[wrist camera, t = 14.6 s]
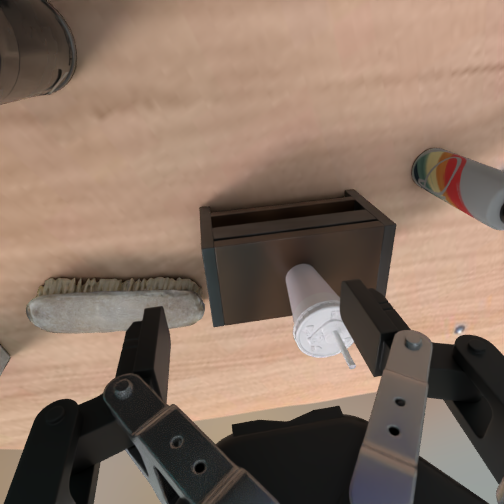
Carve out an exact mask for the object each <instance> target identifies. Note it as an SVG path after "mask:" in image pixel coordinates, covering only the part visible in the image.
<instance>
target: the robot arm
mask: <svg viewBox="0 0 504 504" xmlns="http://www.w3.org/2000/svg"><path fill="white" fill-rule="evenodd" d="M76 61H77V52H76V46H75V41H74V38H73V35H72V33H71V31H70V29H69V27H68V25H67V23H66V22H65V20H64V19H63V17H62V16H61V15H60V14H59V13H58V11H57V10H56V9H55V8H54V7H52V6H51V5H50V4H49V3H48V2H46V1H45V0H0V105H2V104H6V103H10V102H14V101H18V100H22V99H26V98H30V97H34V96H38V95H46V94H48V95H50V94H51V93H53V92H56V91H58V90H60V89H61V88H63V87H64V86H65V85H66V84H67V83H68V82H69V81H70V79H71V78H72V76H73V73H74V71H75V67H76ZM340 316H341V319H342V321H343V323H344V325H345V327H346V329H347V330H348V332H349V334H350V336H351V337H352V339H353V341H354V343H355V344H356V346H357V348H358V350H359V351H360V353H361V355H362V357H363V359H364V360H365V362H366V364H367V366H368V367H369V369H370V371H371V373H372V374H373V376H374V377H377V376H382V377H381V380H380V384H379V387H378V391H377V394H376V398H375V402H374V405H373V409H372V412H371V416H370V419H369V422H368V421H366V420H364V419H361V418H359V417H355V416H351V415H344V414H342V411H341V409H340V406H335V407H329V408H324V409H318V410H313V411H311V412H309V413H306V414H304V415H302V416H300V417H297V418H295V419H293V420H291V421H287V422H284V421H268V420H256V421H250V422H244V423H239V424H233V425H232V431H233V434H231V435H229V436H227V437H225V438H223V439H222V440H221V441H219V442H218V443H217V444H214V442H213V441H212V440H211V439H209V437H208V436H206V435H205V434H204V432H202V431H201V430H200V429H199V427H198V426H197V425H196V424H195V423H194V422H193V421H192V420H191V419H190V418H189V417H188V416H187V415H186V414H185V413H184V412H183V411H182V410H181V409H180V408H179V407H177V406H176V405H175V404H172V405H171V406H169V405H167V404H166V403H167V390H168V376H169V363H170V349H171V341H170V333H169V329H168V325H167V320H166V316H165V312H164V308H163V306H157V307H150V308H145V309H144V314H143V319H142V321H135V322H133V323H132V324H131V326H130V327H129V328H128V329H127V331H126V335H125V339H124V343H123V347H122V348H123V350H122V352H121V356H120V360H119V364H118V368H117V372H116V377H115V378H114V379H113V380H112V381H111V382H109V383H108V385H107V386H106V387H105V389H104V392H103V394H101V395H100V396H98V397H96V398H94V399H91V400H89V401H87V402H84V403H82V404H79V405H78V404H77V403H76V402H75V401H74V400H71V399H61V400H58V401H55V402H53V403H51V404H49V405H48V406H46V407H45V408H44V409H43V410H42V411H40V413H39V414H38V415H37V417H36V418H35V420H34V423H33V425H32V428H31V431H30V433H29V436H28V439H27V442H26V444H25V447H24V450H23V453H22V455H21V458H20V461H19V464H18V466H17V469H16V472H15V475H14V478H13V480H12V483H11V485H10V488H9V491H8V494H7V497H6V499H5V502H4V504H94V498H95V492H96V486H97V480H98V474H99V468H100V462H101V461H103V460H105V459H107V458H109V457H111V456H113V455H115V454H117V453H119V452H121V451H123V450H126V452H127V453H128V454H129V456H130V457H131V459H132V460H133V461H134V463H135V464H136V465H137V467H138V468H139V469H140V471H141V472H142V473H143V475H144V476H145V477H146V479H147V480H148V482H149V483H150V484H151V486H152V488H153V490H154V491H155V493H156V495H157V497H158V498H159V500H160V502H161V503H162V504H489V503H487V502H486V501H485V500H483V499H481V498H480V497H479V496H477V495H476V494H474V493H473V492H471V491H470V490H468V489H467V488H465V487H464V486H463V485H461V484H460V483H458V482H457V481H455V480H454V479H452V478H451V477H450V476H448V475H446V474H445V473H443V472H442V471H441V470H439V469H438V468H436V467H435V466H433V465H432V464H430V463H429V462H428V461H426V460H425V459H423V458H422V457H420V456H419V451H420V443H421V437H422V430H423V423H424V416H425V408H426V401H427V397H428V398H436V399H443V400H444V401H445V403H446V404H447V406H448V408H449V409H450V411H451V412H452V414H453V415H454V417H455V418H456V420H457V421H458V423H459V424H460V426H461V427H462V429H463V430H464V432H465V433H466V435H467V437H468V438H469V440H470V441H471V443H472V444H473V445H474V447H475V449H476V450H477V452H478V453H479V455H480V456H481V458H482V459H483V461H484V462H485V464H486V466H487V467H488V469H489V470H490V472H491V473H492V475H493V476H494V478H495V479H496V481H497V482H498V484H499V486H498V488H497V491H496V498H497V502H498V504H504V356H503V355H502V354H501V352H500V351H499V350H498V349H497V348H496V347H495V346H494V345H493V344H492V343H490V342H489V341H487V340H486V339H483V338H481V337H478V336H474V335H462V336H459V337H458V338H457V339H456V341H455V344H454V345H452V344H441V343H433V342H431V340H430V339H429V338H428V337H427V336H425V335H424V334H422V333H420V332H418V331H414V330H411V329H410V328H409V327H408V326H407V324H406V323H405V322H404V321H403V319H402V318H401V317H400V316H399V314H398V313H397V312H396V311H395V309H393V307H392V306H391V304H390V303H388V301H387V299H386V298H385V297H384V296H383V294H381V293H380V292H378V291H377V290H375V289H373V288H368V289H367V287H366V286H365V285H364V283H363V282H362V281H361V280H360V279H353V280H346V281H342V284H341V295H340Z"/></svg>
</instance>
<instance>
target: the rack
mask: <svg viewBox="0 0 504 504" xmlns="http://www.w3.org/2000/svg"><path fill="white" fill-rule="evenodd" d="M200 229H201V250H202V256H203V263H204V269H205V275H206V282H207V288H208V295H209V301H210V308H211V314H212V321H213V327H218V326H224V325H232V324H239V323H245V322H252V321H259V320H266V319H272V318H279V317H286V316H292V310H291V305H290V300H289V294H288V289H287V284H286V275H287V273H288V271H289V270H290V269H291V268H292V267H294V266H296V265H299V264H308V265H310V266H312V267H313V268H314V269H315V270H316V271H317V272H318V273H319V275H320V276H321V277H322V278H323V279H324V280H325V281H326V283H327V284H328V285H329V286H330V287H331V288H332V289H333V291H334V292H335V293H336V294H337V295H338V296H339V297H340V295H341V284H342V281H346V280H353V279H360V280H361V281H362V282H363V283H364V285H365V286H366V287H367V289H368V288H373V289H375V290H377V291H378V292H380V293H381V294H383V296H384V297H385V296H386V289H387V283H388V276H389V269H390V263H391V256H392V250H393V243H394V237H395V230H396V224H395V223H394V222H393V221H392V220H390V219H389V218H388V217H387V216H386V215H384V214H383V213H382V212H381V211H380V210H378V209H377V208H376V207H375V206H373V205H372V204H371V203H370V202H369V201H367V200H366V199H365V198H364V197H363V196H361V195H360V194H359V193H358V192H357V191H355V190H347V191H345V197H343V198H335V199H326V200H318V201H309V202H300V203H292V204H283V205H275V206H266V207H258V208H249V209H241V210H232V211H224V212H215V213H211V212H210V207H209V206H208V207H200Z"/></svg>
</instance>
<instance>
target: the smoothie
mask: <svg viewBox="0 0 504 504" xmlns="http://www.w3.org/2000/svg"><path fill="white" fill-rule="evenodd" d="M286 284H287V289H288V294H289V300H290V305H291V310H292V315H293V321H294V327H293V336H294V340H295V341H296V343H297V345H298V347H299V349H300V350H301V351H302V352H303V353H305V354H307V355H309V356H312V357H318V358H322V357H330V356H333V355H336V354H339V353H341V352H342V354H343V356H344V358H345V360H346V362H347V364H348V366H349V368H350V369H354V368H355V367H356V365H355V363H354V362H353V360H352V358H351V356H350V354H349V352H348V350H347V348H348V347H350V346H351V345H352V344H353V343H354V341H353V339H352V337H351V336H350V334H349V332H348V330H347V329H346V327H345V325H344V323H343V321H342V319H341V316H340V297H339V296H338V295H337V294H336V293H335V292H334V291H333V289H332V288H331V287H330V286H329V285H328V284H327V283H326V281H325V280H324V279H323V278H322V277H321V276H320V275H319V273H318V272H317V271H316V270H315V269H314V268H313V267H312V266H310V265H308V264H299V265H296V266H294V267H292V268H291V269H290V270H289V271H288V273H287V275H286Z"/></svg>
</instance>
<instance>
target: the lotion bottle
mask: <svg viewBox="0 0 504 504" xmlns="http://www.w3.org/2000/svg"><path fill="white" fill-rule="evenodd" d="M412 178H413V180H414V182H415V183H416V184H417V185H418V186H420V187H421V188H423V189H425V190H426V191H428V192H430V193H432V194H433V195H435V196H437V197H439V198H440V199H442V200H444V201H445V202H447V203H449V204H451V205H452V206H454V207H456V208H458V209H459V210H461V211H463V212H465V213H466V214H468V215H470V216H471V217H473V218H475V219H477V220H478V221H480V222H482V223H484V224H485V225H487V226H489V227H491V228H493V229H496V230H504V172H503V171H501V170H498V169H495V168H493V167H490V166H487V165H485V164H482V163H479V162H477V161H474V160H471V159H468V158H466V157H463V156H460V155H458V154H455V153H452V152H450V151H447V150H444V149H440V148H433V149H429V150H427V151H425V152H423V153H422V154H421V155H420V156H419V157H418V158H417V159H416V161H415V163H414V165H413V168H412Z"/></svg>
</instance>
